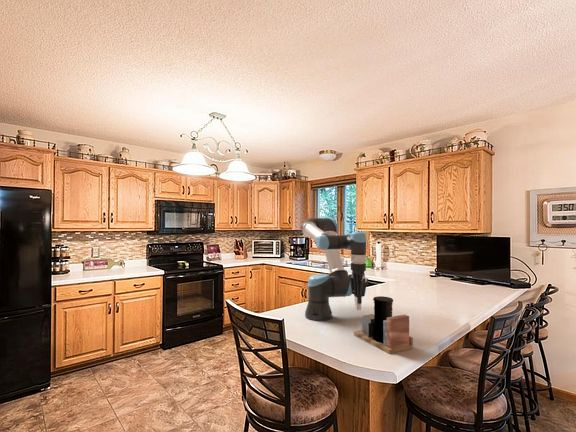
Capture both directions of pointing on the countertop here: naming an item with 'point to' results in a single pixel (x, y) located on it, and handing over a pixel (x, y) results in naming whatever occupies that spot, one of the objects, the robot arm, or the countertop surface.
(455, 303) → the countertop surface
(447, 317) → the countertop surface
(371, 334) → the bookend
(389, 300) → the container
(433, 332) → the countertop surface
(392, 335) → the rack
